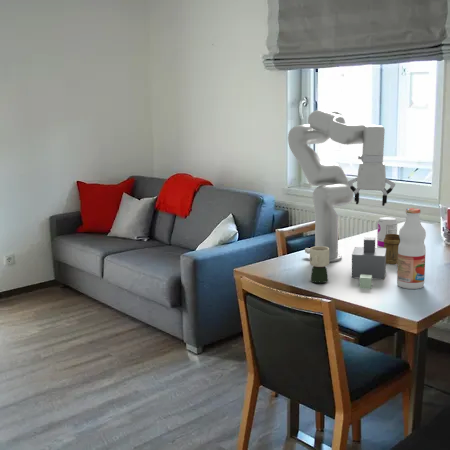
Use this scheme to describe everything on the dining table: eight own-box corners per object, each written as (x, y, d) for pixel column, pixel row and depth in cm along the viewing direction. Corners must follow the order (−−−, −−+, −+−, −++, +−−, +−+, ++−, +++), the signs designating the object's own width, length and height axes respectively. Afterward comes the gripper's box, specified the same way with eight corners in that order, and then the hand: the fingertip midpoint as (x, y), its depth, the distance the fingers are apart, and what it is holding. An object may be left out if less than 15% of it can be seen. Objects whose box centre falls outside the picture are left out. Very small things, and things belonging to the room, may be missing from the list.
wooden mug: (411, 267, 241) (413, 222, 237) (378, 263, 247) (379, 220, 244) (416, 261, 248) (418, 218, 245) (383, 258, 255) (385, 216, 251)
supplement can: (375, 253, 262) (376, 219, 259) (378, 249, 269) (379, 216, 266) (395, 255, 259) (396, 220, 256) (397, 250, 266) (398, 217, 263)
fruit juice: (398, 280, 224) (400, 206, 218) (425, 282, 220) (428, 207, 215) (395, 288, 215) (397, 211, 210) (423, 290, 212) (426, 212, 206)
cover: (351, 277, 229) (352, 241, 226) (354, 268, 241) (355, 234, 238) (384, 279, 226) (385, 243, 223) (385, 270, 237) (386, 235, 234)
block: (359, 288, 217) (359, 277, 216) (360, 284, 221) (360, 274, 220) (370, 289, 216) (371, 278, 215) (371, 285, 219) (372, 275, 219)
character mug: (314, 277, 231) (314, 244, 229) (332, 278, 228) (332, 245, 226) (305, 285, 222) (305, 251, 219) (324, 287, 219) (325, 252, 216)
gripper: (347, 159, 223) (345, 205, 227) (396, 161, 217) (393, 207, 222) (350, 157, 230) (348, 201, 234) (397, 158, 224) (394, 203, 228)
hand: (370, 204), depth 228 cm, fingers open, 9 cm apart
